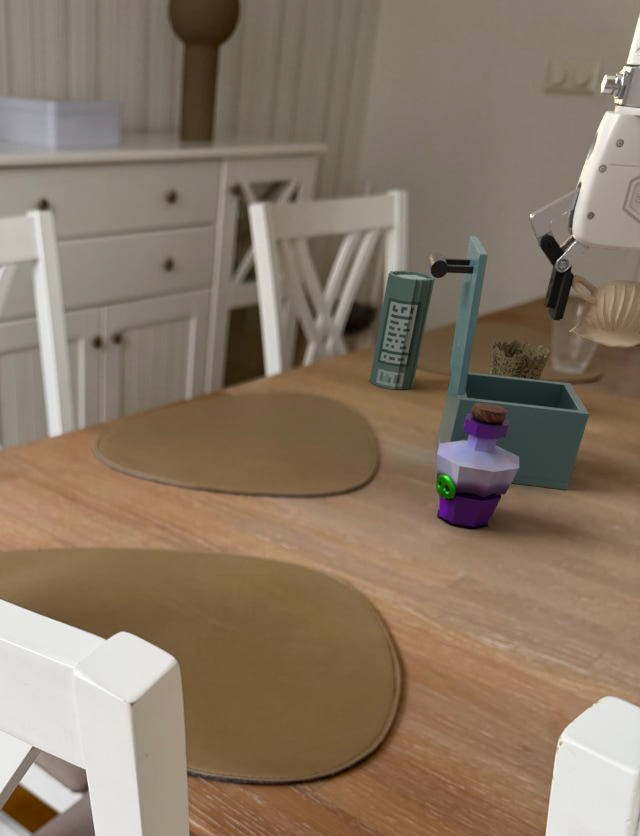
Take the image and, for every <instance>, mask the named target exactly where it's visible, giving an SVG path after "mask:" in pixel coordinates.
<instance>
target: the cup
mask: <svg viewBox="0 0 640 836" xmlns="http://www.w3.org/2000/svg"><path fill="white" fill-rule="evenodd" d="M530 345H531V344H530V343H529V342H528V341H526V342H525V343H524V344H522V342H520V341H518V340H516V339H515V340H513V341H511V342H510V343H509V342H507V340H503V342H501V341H495V342H494V343H493V345H492V352H491V361H490V369H489V370H490V371H489V374H490V375H499V376H508V377H517V378H526V379H535V380H541V377H542V374H543V371H544V370H545V367H546V365H547V361H548V359H549V356H550V354H551V352H550V349H549V348H548V347H547V348H544V346H543V345H542V344H541V345H538V346H537V347H536V348H535V349H534V348H530V347H531V346H530Z"/></svg>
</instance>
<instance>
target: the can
mask: <svg viewBox="0 0 640 836" xmlns="http://www.w3.org/2000/svg"><path fill="white" fill-rule="evenodd" d="M435 280H436V278H435V277H434V276H433V275H432V274H428V273H425V272H422V271H421V272H420V271H414V270H403V269H401V270H400V269H399V270H390V271H389V272H388V275H387V281H386V286H385V292H384V297H383V301H382V308H381V313H380V320H379V325H378V330H377V336H376V341H375V347H374V352H373V359H372V364H371V369H370V375H369V379H368V381H369V382H370V383H371V384H372V385H375V386H376V387H380V388H383V389H389V390H400V391H401V390H408V389H412V388H413V386H414V384H415V378H416V374H417V369H418V363H419V358H420V355H421V349H422V345H423V338H424V335H425V329H426V323H427V319H428V315H429V310H430V304H431V299H432V294H433V290H434V283H435Z"/></svg>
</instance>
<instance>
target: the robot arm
mask: <svg viewBox="0 0 640 836" xmlns="http://www.w3.org/2000/svg"><path fill="white" fill-rule="evenodd" d="M600 94H602V95H603V94H604V95H609V96H610V97H613V99H614V101H613V103H614V104H615V106H614V110H606V111H605V112H604V115H603V117H602V119H601V121H600V123H599V126H598V127H597V130H596V132H595V135H594V137H593V140H592V142H591V145H590V147H589V150H588V153H587V156H586V159H585V162H584V165H583V167H582V170H581V172H580V173H581V174H580V176H579V179H578V181H577V185H576V188H575V189H573V190H571V191H570V192H567V193H566V194H564V195H562V196H560V197H558V198H556V199H554V200H552V201H551V202H549V203H547V204H545V205H543V206H541V207H540V208H537V209H535V210H534V211H532V212H531V213H530V214H529V216H528V221H529V223H530V226H531V229H532V231H533V234H534V236H535V239H536V241H537V244H538V246H539V248H540V249H541V251H542V252H543V254H544V255H545V256H546V258H547V260H548V261H549V263H550V264H551V265H552V270H551V274H550V277H549V281H548V285H547V289H546V293H545V298H544V303H543V305H544V308H548V311H547V313H548V315H549V316H550V318H551V319H552V321H557V322H558V321H560V320H563V319H564V316H565V311H566V307H567V305H568V300H569V296H570V293H571V289H572V286H571V285H572V282H573V277H574V275H575V274H573V272H572V269H573V265H574V264H576V262H577V261H578V260H579V259H580V258H581V257H582V255H584V254H585V253H586V251H588V249H589V248H593V249H601V250H612V251H623V252H635V253H640V13H639V14H638V18H637V23H636V26H635V30H634V34H633V37H632V42H631V45H630V48H629V53H628V56H627V60H626V65H624V66H623V68H622V70H620V71H619V72H616V73H615V74H605V75H604V76H603V79H602V82H601V86H600ZM567 214H568V216H567V221H566V231H567V233H568V234H569V235H570V236H568V237H567V238H566V240H565V241H564V242H562V244H561V245H560V244H559V242H557V240H556V238H555V236H554V234H553V231H552V228H551V226H552V223H553V222H554V221H555V220H557V219H559V218H561V217H563V216H564V215H567Z"/></svg>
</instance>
